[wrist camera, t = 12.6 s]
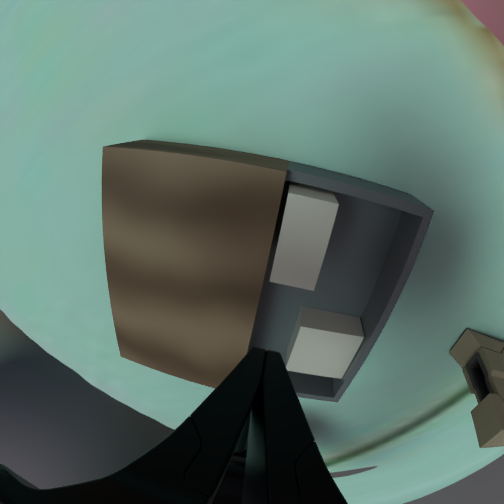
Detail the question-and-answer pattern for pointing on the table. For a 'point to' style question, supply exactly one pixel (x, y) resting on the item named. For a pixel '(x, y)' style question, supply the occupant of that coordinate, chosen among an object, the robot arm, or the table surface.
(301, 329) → the tile
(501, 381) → the gun
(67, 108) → the table surface
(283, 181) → the walnut plate
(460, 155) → the table surface
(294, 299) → the box
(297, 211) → the tile
